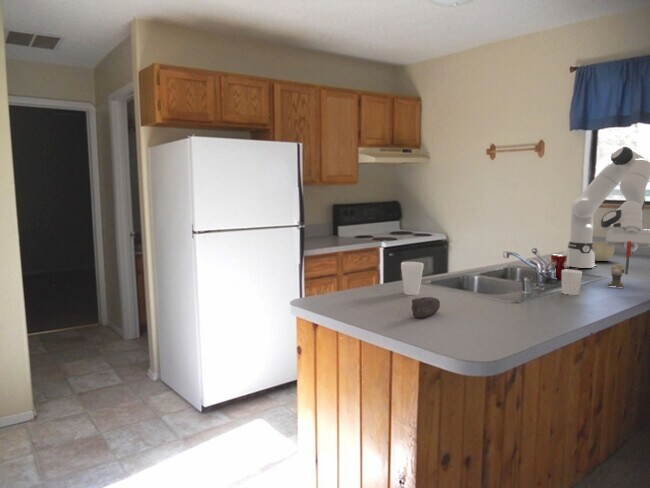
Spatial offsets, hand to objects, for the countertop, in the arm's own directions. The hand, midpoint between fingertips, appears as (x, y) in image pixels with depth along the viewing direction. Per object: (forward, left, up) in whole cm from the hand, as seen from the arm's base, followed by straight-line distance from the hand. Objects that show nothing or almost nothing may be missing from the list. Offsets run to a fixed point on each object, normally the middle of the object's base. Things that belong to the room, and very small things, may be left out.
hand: (630, 252), depth 224 cm
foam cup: (+13, -101, -16) cm, 103 cm away
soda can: (-20, -23, -16) cm, 34 cm away
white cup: (+14, -33, -16) cm, 39 cm away
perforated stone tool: (+49, -102, -16) cm, 114 cm away
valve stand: (-3, -4, -16) cm, 17 cm away
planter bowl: (-76, +28, -16) cm, 83 cm away
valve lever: (-1, 0, -10) cm, 10 cm away
